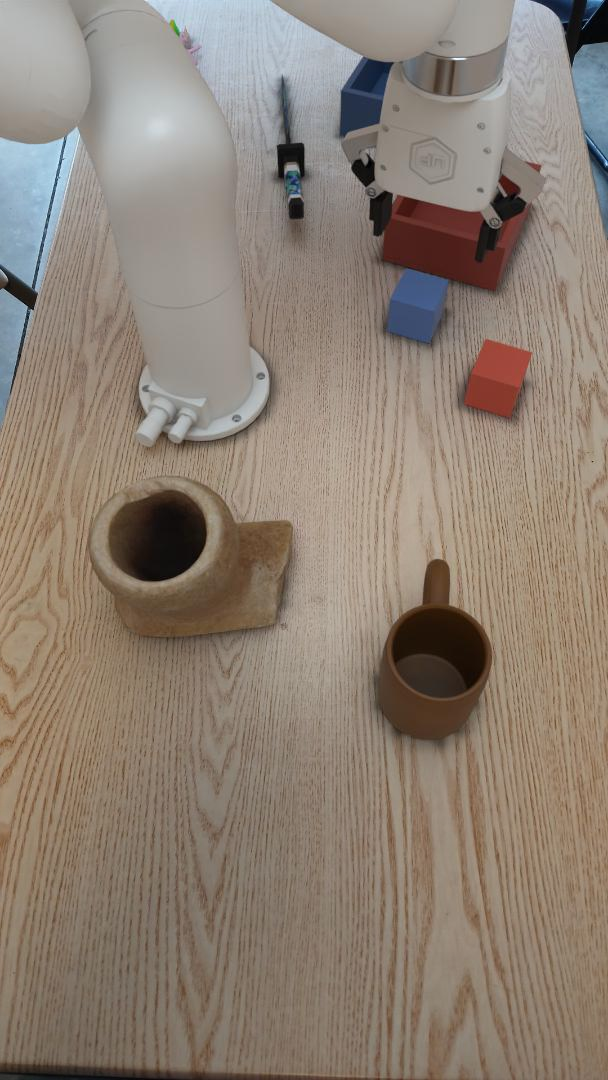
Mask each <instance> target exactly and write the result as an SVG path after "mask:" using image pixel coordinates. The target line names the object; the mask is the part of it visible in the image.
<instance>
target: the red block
mask: <svg viewBox="0 0 608 1080" xmlns="http://www.w3.org/2000/svg"><path fill="white" fill-rule="evenodd" d="M532 355H533V352H532V351H530V350H526V349H523V348H519V347H515V346H512V345H509V344H506V343H502V342H498V341H495V340H491V339H489V338H485V339H484V341H483V343H482V345H481V348H480V351H479V353H478V355H477V357H476V360H475V362H474V365H473V367H472V370H471V372H470V376H469V380H468V385H467V389H466V392H465V397H464V402H463V405H465V406H469V407H472V408H474V409H475V408H476V409H478V410H481V411H485V412H488V413H491V414H495V415H498V416H501V417H505V418H507V419H510V418H511V415H512V413H513V410H514V407H515V405H516V403H517V399H518V396H519V394H520V392H521V388H522V386H523V383H524V380H525V377H526V374H527V370H528V369H529V365H530V362H531V358H532Z"/></svg>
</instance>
